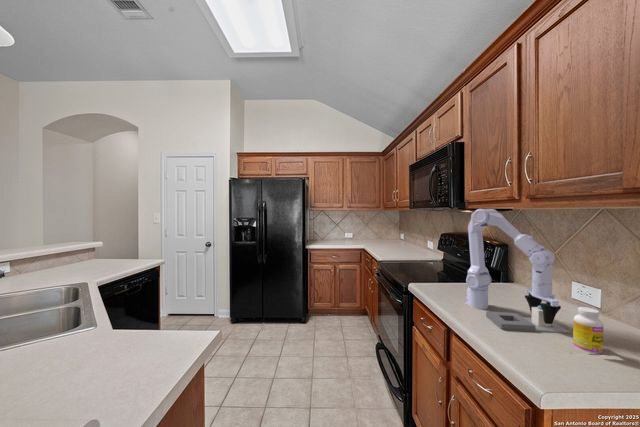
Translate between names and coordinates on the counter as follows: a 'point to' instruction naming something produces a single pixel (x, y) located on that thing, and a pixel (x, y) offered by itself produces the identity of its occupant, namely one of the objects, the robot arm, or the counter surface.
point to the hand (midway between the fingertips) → (541, 319)
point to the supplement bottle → (588, 331)
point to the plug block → (538, 317)
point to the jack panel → (520, 323)
